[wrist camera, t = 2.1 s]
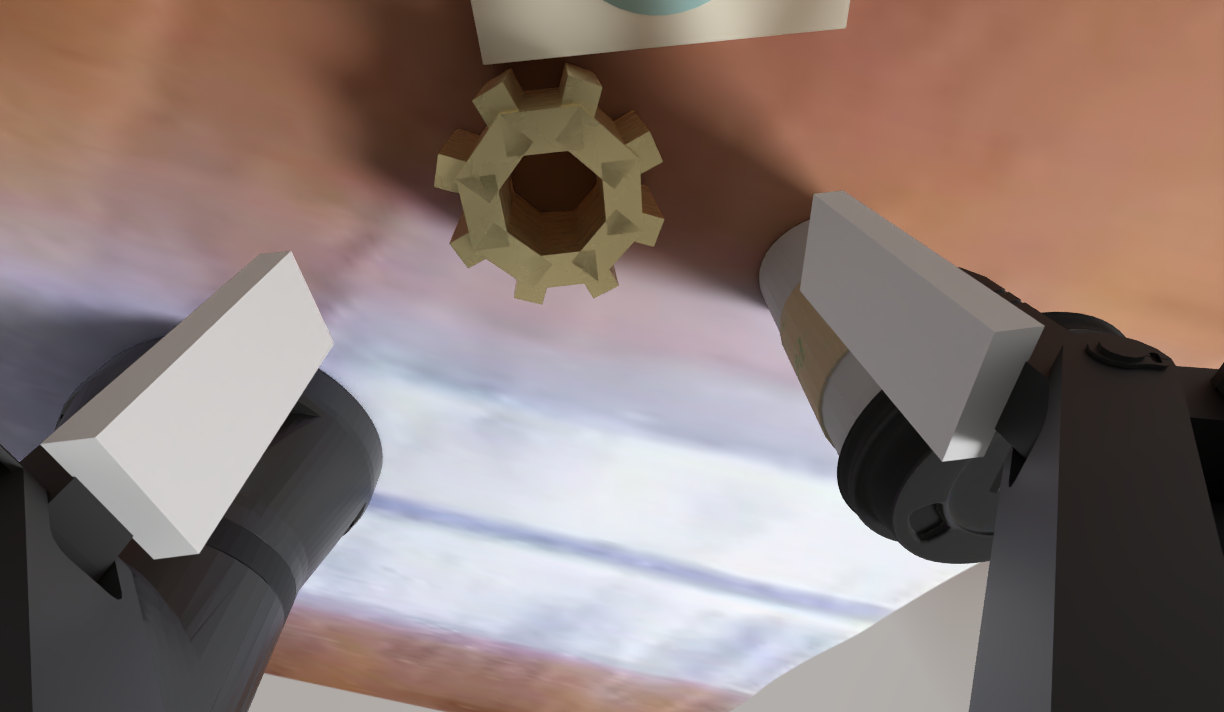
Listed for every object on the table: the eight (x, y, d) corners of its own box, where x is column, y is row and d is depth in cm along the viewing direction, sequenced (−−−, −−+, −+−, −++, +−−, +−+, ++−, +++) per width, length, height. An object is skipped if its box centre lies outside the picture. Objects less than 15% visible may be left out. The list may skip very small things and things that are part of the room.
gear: (480, 266, 26) (467, 316, 22) (434, 74, 21) (405, 93, 17) (648, 246, 26) (667, 293, 22) (640, 53, 21) (662, 66, 17)
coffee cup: (691, 300, 28) (802, 537, 16) (811, 139, 24) (1090, 291, 12) (816, 365, 31) (987, 601, 19) (939, 234, 27) (1261, 429, 15)
